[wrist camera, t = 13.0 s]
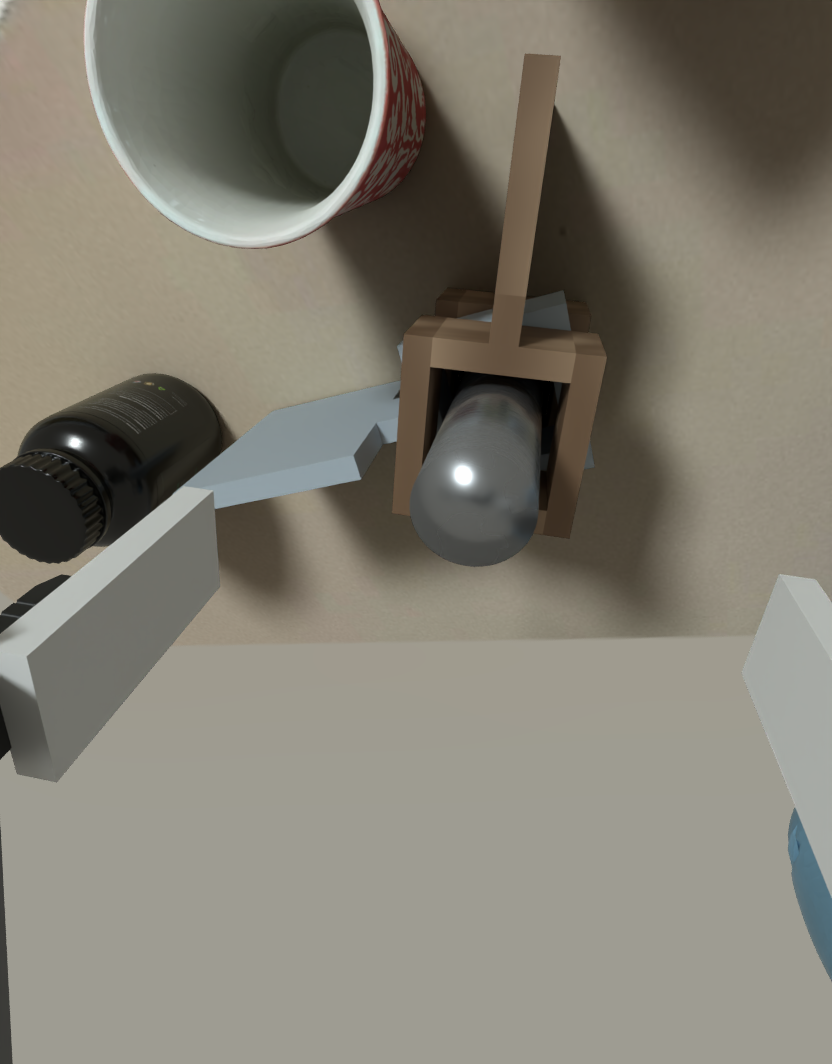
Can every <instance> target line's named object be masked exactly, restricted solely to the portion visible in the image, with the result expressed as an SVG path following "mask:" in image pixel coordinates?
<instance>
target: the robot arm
mask: <svg viewBox="0 0 832 1064" xmlns="http://www.w3.org/2000/svg"><path fill="white" fill-rule="evenodd" d="M219 587H220V578H219V564H218V549H217V535H216V521H215V506H214V492H213V490H207V489H200V488H193V487H186V486H183V487H182V488H181V489H180V490H178V491H177V492H176V493H175V494H173V495H172V496H171V497H170V498H168V499H167V500H166V501H165V502H163V503H162V504H161V505H160V506H158V507H157V508H156V509H155V510H153V511H152V512H151V513H150V514H148V515H147V516H146V517H145V518H143V519H142V520H141V521H140V522H139V523H137V524H136V525H135V526H134V527H132V528H131V529H130V530H129V531H127V532H126V533H125V534H124V535H122V536H121V537H120V538H119V539H117V540H116V541H115V542H114V543H112V544H111V545H110V546H109V547H107V548H106V549H105V550H104V551H102V552H101V553H100V554H99V555H98V556H96V557H95V558H94V559H93V560H91V561H90V562H89V563H88V564H86V565H85V566H84V567H83V568H81V569H80V570H79V571H78V572H76V573H75V574H74V575H73V576H68V575H59V576H57V577H55V578H52V579H50V580H48V581H45V582H43V583H41V584H39V585H36V586H35V587H34V588H32V589H31V590H30V591H28V592H27V593H26V594H24V595H23V596H22V597H21V598H19V599H18V600H17V603H13V604H11V605H10V606H9V607H7V608H6V609H5V610H4V611H2V614H1V615H0V759H1V758H2V757H3V756H4V755H5V754H6V753H7V752H8V751H9V750H10V751H11V754H12V758H13V762H14V765H15V769H16V772H17V774H19V775H24V776H29V777H34V778H39V779H43V780H48V781H53V782H57V781H58V780H59V779H60V778H61V777H62V775H63V774H64V773H65V772H66V771H67V770H68V768H69V767H70V766H71V765H72V764H73V762H74V761H75V760H76V759H77V758H78V756H79V755H80V754H81V753H82V752H83V750H84V749H85V748H86V747H87V746H88V744H89V743H90V742H91V741H92V740H93V738H94V737H95V736H96V735H97V734H98V732H99V731H100V730H101V729H102V728H103V726H104V725H105V724H106V723H107V721H108V720H109V719H110V718H111V717H112V716H113V714H114V713H115V712H116V711H117V710H118V708H119V707H120V706H121V705H122V704H123V702H124V701H125V700H126V699H127V698H128V696H129V695H130V694H131V693H132V692H133V690H134V689H135V688H136V687H137V686H138V684H139V683H140V682H141V681H142V680H143V678H144V677H145V676H146V675H147V674H148V672H149V671H150V670H151V669H152V667H153V666H154V665H155V664H156V663H157V662H158V660H159V659H160V658H161V657H162V655H163V654H164V653H165V652H166V651H167V649H168V648H169V647H170V646H171V645H172V644H173V642H174V641H175V640H176V639H177V638H178V636H179V635H180V634H181V633H182V632H183V630H184V629H185V628H186V627H187V626H188V624H189V623H190V622H191V621H192V620H193V618H194V617H195V616H196V615H197V614H198V612H199V611H200V610H201V609H202V608H203V606H204V605H205V604H206V603H207V602H208V600H209V599H210V598H211V597H212V596H213V594H214V593H215V592H216V591H217V590H218V588H219ZM742 676H743V678H744V681H745V683H746V686H747V688H748V690H749V693H750V695H751V698H752V701H753V703H754V706H755V707H756V711H757V713H758V715H759V718H760V721H761V723H762V726H763V728H764V731H765V733H766V735H767V738H768V740H769V743H770V745H771V748H772V750H773V753H774V755H775V758H776V760H777V763H778V765H779V768H780V770H781V773H782V775H783V778H784V780H785V783H786V785H787V787H788V790H789V792H790V795H791V798H792V800H793V803H794V805H795V808H794V811H793V814H792V816H791V820H790V825H789V832H788V840H789V845H788V852H789V856H790V860H791V864H792V880H793V885H794V889H795V893H796V897H797V899H798V903H799V906H800V909H801V912H802V915H803V918H804V921H805V924H806V926H807V929H808V932H809V934H810V937H811V939H812V941H813V944H814V946H815V948H816V951H817V953H818V955H819V957H820V959H821V961H822V963H823V965H824V967H825V969H826V971H827V973H828V975H829V977H830V979H831V981H832V602H831V601H830V599H829V598H828V596H827V595H826V593H825V592H824V591H823V589H822V588H821V586H820V585H819V583H818V582H817V580H816V579H809V578H802V577H796V576H789V575H782V574H779V576H778V578H777V581H776V584H775V586H774V589H773V591H772V594H771V597H770V599H769V602H768V605H767V607H766V610H765V612H764V615H763V618H762V620H761V623H760V625H759V628H758V631H757V633H756V636H755V639H754V641H753V644H752V646H751V649H750V652H749V655H748V657H747V660H746V662H745V665H744V667H743V670H742ZM0 1064H12V1046H11V1026H10V1006H9V987H8V966H7V946H6V928H5V908H4V888H3V868H2V848H1V830H0Z"/></svg>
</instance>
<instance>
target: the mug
mask: <svg viewBox="0 0 832 1064" xmlns="http://www.w3.org/2000/svg"><path fill="white" fill-rule="evenodd" d="M84 57H85V66H86V73H87V79H88V84H89V90H90V94H91V99H92V103H93V106H94V109H95V112H96V115H97V118H98V121H99V123H100V126H101V128H102V131H103V133H104V136H105V138H106V140H107V142H108V144H109V146H110V148H111V150H112V152H113V154H114V156H115V157H116V159H117V161H118V162H119V164H120V166H121V167H122V169H123V170H124V172H125V173H126V175H127V176H128V178H129V179H130V181H131V182H132V183H133V184H134V186H135V187H136V188H137V189H138V191H139V192H140V193H141V194H142V195H143V197H144V198H145V199H146V200H147V201H148V202H149V203H150V204H151V205H152V206H154V207H155V208H156V209H157V210H158V211H159V212H160V213H161V214H162V215H163V216H165V217H166V218H167V219H168V220H170V221H171V222H173V223H175V224H176V225H178V226H179V227H181V228H182V229H184V230H185V231H188V232H190V233H192V234H194V235H196V236H198V237H200V238H203V239H205V240H208V241H210V242H214V243H217V244H220V245H225V246H229V247H236V248H250V249H259V248H271V247H277V246H281V245H285V244H288V243H291V242H294V241H296V240H299V239H301V238H304V237H306V236H307V235H309V234H311V233H313V232H315V231H316V230H318V229H319V228H321V227H322V226H324V225H325V224H327V223H328V222H329V221H330V220H331V219H332V218H334V217H336V216H340V215H342V214H343V213H345V212H348V211H350V210H353V209H355V208H358V207H361V206H362V205H364V204H367V203H370V202H372V201H374V200H377V199H379V198H381V197H383V196H384V195H386V194H387V193H389V192H390V191H392V190H393V189H394V188H395V187H396V186H397V185H398V184H399V183H401V182H402V181H403V179H404V178H405V177H406V175H407V174H408V173H409V171H410V169H411V168H412V166H413V164H414V162H415V161H416V159H417V156H418V154H419V151H420V148H421V145H422V141H423V136H424V132H425V122H426V108H425V97H424V92H423V88H422V84H421V80H420V77H419V74H418V72H417V69H416V67H415V64H414V62H413V60H412V58H411V57H410V55H409V53H408V52H407V50H406V49H405V47H404V45H403V44H402V42H401V41H400V39H399V37H398V36H397V34H396V32H395V31H394V29H393V27H392V26H391V24H390V23H389V21H388V19H387V18H386V15H385V14H384V12H383V11H382V9H381V6H380V3H379V0H87V1H86V9H85V18H84Z"/></svg>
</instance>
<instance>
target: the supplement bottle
mask: <svg viewBox="0 0 832 1064" xmlns="http://www.w3.org/2000/svg"><path fill="white" fill-rule="evenodd" d="M221 445H222V438H221V430H220V426H219V423H218V420H217V417H216V415H215V413H214V411H213V409H212V408H211V406H210V405H209V403H208V402H207V401H206V399H205V398H204V397H203V396H202V395H201V394H200V393H199V392H198V391H197V390H196V389H194V388H193V387H192V386H190V385H189V384H187V383H186V382H184V381H182V380H180V379H178V378H175V377H172V376H169V375H164V374H156V373H152V374H143V375H139V376H136V377H134V378H131V379H129V380H126V381H124V382H122V383H120V384H117V385H115V386H113V387H111V388H109V389H107V390H104V391H102V392H100V393H98V394H96V395H94V396H91V397H89V398H87V399H85V400H83V401H81V402H78V403H76V404H74V405H72V406H70V407H68V408H65V409H63V410H61V411H59V412H57V413H55V414H53V415H51V416H49V417H47V418H45V419H43V420H41V421H40V422H38V423H37V424H36V425H34V426H33V427H32V428H31V429H30V430H29V432H28V433H27V434H26V436H25V437H24V439H23V441H22V443H21V445H20V448H19V452H18V456H17V458H15V459H14V460H13V461H11V462H10V463H8V464H6V465H4V466H3V467H1V468H0V535H1V537H2V539H3V540H4V541H6V542H7V543H8V544H9V545H10V546H11V547H12V548H14V549H16V550H17V551H18V552H19V553H20V554H23V555H26V556H27V557H28V558H30V559H35V560H37V561H39V562H46V563H49V564H50V563H58V564H59V563H61V562H67V561H69V560H71V559H72V558H75V557H77V556H78V555H80V554H81V553H82V552H84V551H85V550H86V549H88V548H90V547H92V546H97V547H105V546H110V545H111V544H112V543H114V542H115V541H116V540H117V539H119V538H120V537H121V536H122V535H124V534H125V533H126V532H127V531H129V530H130V529H131V528H132V527H134V526H135V525H136V524H137V523H139V522H140V521H141V520H142V519H143V518H145V517H146V516H147V515H148V514H150V513H151V512H152V511H153V510H155V509H156V508H157V507H158V506H160V505H161V504H162V503H163V502H165V501H166V500H167V499H168V498H170V497H171V496H172V495H173V493H174V492H175V491H177V490H178V489H179V488H180V487H181V486H183V485H184V484H185V483H186V482H187V481H189V480H190V479H191V478H192V477H193V476H195V475H196V474H197V473H198V472H199V471H201V470H202V469H203V468H204V467H206V466H207V465H208V464H209V463H210V462H212V461H213V460H214V459H215V458H216V457H218V456H219V455H220V452H221Z"/></svg>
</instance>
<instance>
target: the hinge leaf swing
mask: <svg viewBox="0 0 832 1064" xmlns="http://www.w3.org/2000/svg"><path fill="white" fill-rule="evenodd" d="M492 313H493V309H490V310H486V311H482V312H478V313H474V314H470V315H466V316H463V317H459V318H458V319H467V320H476V321H485V322H491V321H492ZM522 326H531V327H541V328H550V329H559V330H568V331H571V328H570V322H569V316H568V310H567V305H566V300H565V295H564V290H563V291H559V292H555V293H551V294H547V295H543V296H539V297H536V298H532V299H528V300H525V307H524V314H523V321H522ZM397 348H398V351H399V355H400V359H401V362H402V352H403V340H402V341H401V342H400V343H399V345H398V346H397ZM553 382H554V381H553ZM400 383H401V380H400V381H396V382H391V383H387V384H383V385H379V386H375V387H371V388H367V389H362V390H358V391H354V392H350V393H346V394H342V395H337V396H333V397H329V398H325V399H321V400H317V401H312V402H308V403H304V404H300V405H296V406H292V407H287V408H283V409H279V410H275V411H272V412H271V413H270V414H268V415H267V416H266V417H265V418H263V419H262V420H261V421H260V422H259V423H257V424H256V425H255V426H254V427H253V428H251V429H250V430H249V431H248V432H247V433H245V434H244V435H243V436H242V437H241V438H239V439H238V440H237V441H236V442H234V443H233V444H232V445H231V446H230V447H228V448H227V449H226V450H225V451H224V452H222V453H221V454H220V455H219V456H218V457H216V458H215V459H214V460H213V461H212V462H210V463H209V464H208V465H207V466H206V467H204V468H203V469H202V470H201V471H199V472H198V473H197V474H196V475H195V476H193V477H192V478H191V479H190V480H189V481H187V482H186V483H185V484H184V485H183V486H186V487H193V488H200V489H207V490H213V492H214V506H215V509H218V508H223V507H227V506H232V505H237V504H242V503H247V502H252V501H257V500H262V499H267V498H272V497H277V496H282V495H287V494H292V493H297V492H302V491H307V490H312V489H316V488H321V487H326V486H331V485H336V484H341V483H346V482H351V481H356V480H361V479H362V477H363V476H364V474H365V472H366V471H367V469H368V468H369V466H370V464H371V463H372V461H373V460H374V458H375V456H376V455H377V453H378V452H379V450H380V448H381V447H382V445H383V444H387V443H392V442H397V429H398V413H399V398H400ZM554 387H555V392H556V397H557V403H558V404H559V398H560V393H561V387H562V382H554ZM452 401H453V400H452V396H451V392H450V388H449V384H448V380H447V376H446V372H445V369H444V368H443V370H442V380H441V391H440V401H439V412H438V423H437V433H438V431H439V429H440V427H441V425H442V423H443V421H444V418H445V416H446V414H447V412H448V410H449V408H450V405H451V403H452ZM554 426H555V425H554ZM554 426H549V427H545V428H542V430H541V457H540V470H542V471H547V465H548V459H549V454H550V448H551V443H552V437H553V432H554ZM437 433H436V436H437ZM594 467H595V466H594V460H593V454H592V449H591V443H590V441H589V446H588V451H587V456H586V461H585V466H584V469H589V468H594ZM183 486H181V487H180V488H179V489H178V490H180V489H181V488H182V487H183ZM178 490H177V491H178ZM177 491H175V492H174V493H173V494H175V493H176V492H177Z"/></svg>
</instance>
